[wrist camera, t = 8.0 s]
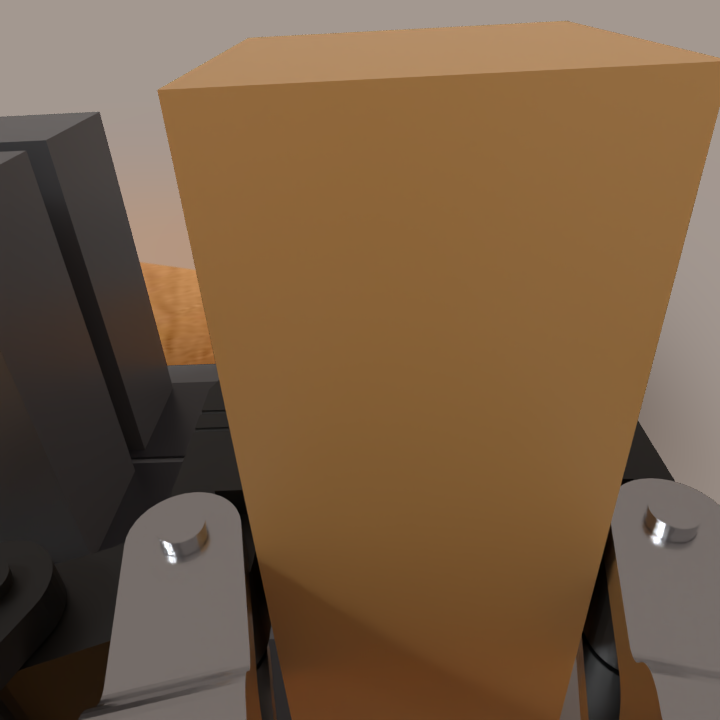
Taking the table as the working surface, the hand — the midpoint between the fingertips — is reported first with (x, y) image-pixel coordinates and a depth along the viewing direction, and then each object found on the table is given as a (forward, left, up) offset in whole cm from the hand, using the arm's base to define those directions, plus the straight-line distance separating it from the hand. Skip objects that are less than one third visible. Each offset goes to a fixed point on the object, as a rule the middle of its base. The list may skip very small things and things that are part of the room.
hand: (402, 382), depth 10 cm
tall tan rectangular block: (+2, -2, -6) cm, 7 cm away
